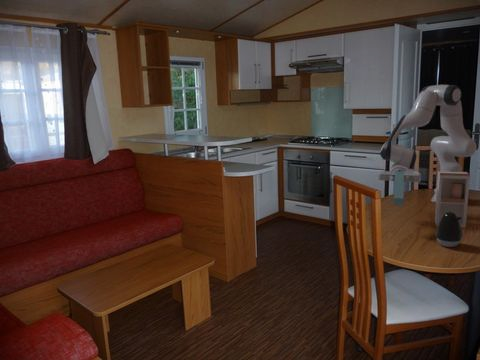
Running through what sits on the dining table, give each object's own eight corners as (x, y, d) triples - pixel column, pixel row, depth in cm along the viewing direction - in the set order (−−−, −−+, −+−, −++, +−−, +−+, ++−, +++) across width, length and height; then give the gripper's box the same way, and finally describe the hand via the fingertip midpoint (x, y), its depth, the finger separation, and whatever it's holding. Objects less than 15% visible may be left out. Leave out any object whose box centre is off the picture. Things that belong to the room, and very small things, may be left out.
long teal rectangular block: (403, 178, 208) (403, 171, 205) (402, 205, 195) (403, 198, 192) (394, 178, 209) (395, 171, 206) (393, 204, 196) (394, 198, 193)
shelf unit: (434, 220, 214) (438, 169, 209) (462, 222, 210) (467, 170, 204) (436, 225, 206) (439, 173, 200) (465, 227, 202) (470, 173, 196)
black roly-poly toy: (451, 251, 175) (453, 217, 172) (430, 243, 184) (432, 211, 181) (466, 246, 179) (469, 213, 176) (445, 239, 188) (447, 207, 185)
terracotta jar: (449, 197, 207) (451, 182, 206) (461, 198, 206) (462, 182, 204) (451, 200, 203) (452, 184, 201) (462, 201, 201) (463, 185, 199)
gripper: (378, 167, 219) (377, 172, 207) (420, 169, 212) (421, 174, 200) (377, 179, 221) (376, 184, 208) (419, 180, 214) (420, 187, 201)
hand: (399, 179), depth 204 cm, fingers closed on long teal rectangular block, 4 cm apart
